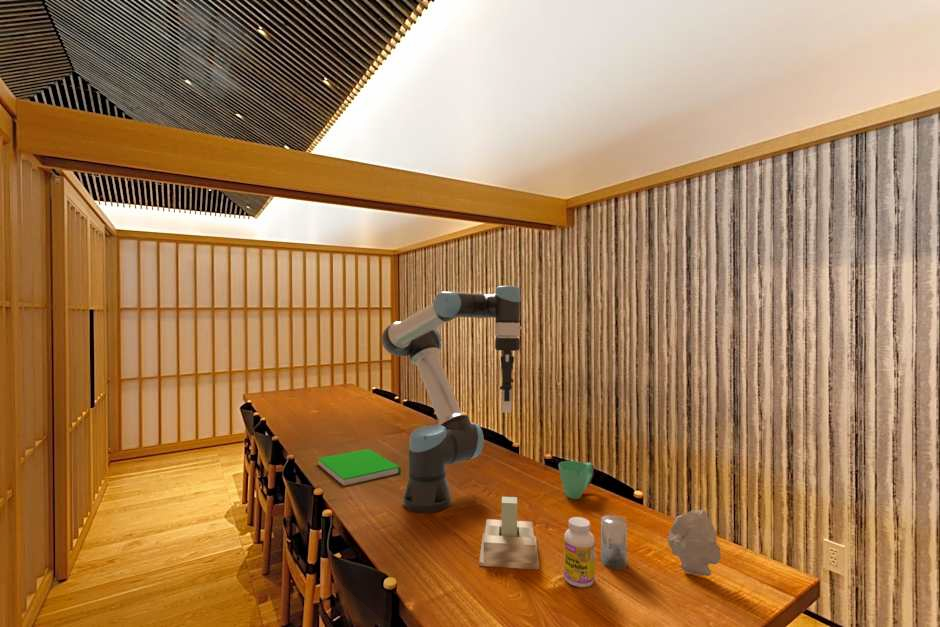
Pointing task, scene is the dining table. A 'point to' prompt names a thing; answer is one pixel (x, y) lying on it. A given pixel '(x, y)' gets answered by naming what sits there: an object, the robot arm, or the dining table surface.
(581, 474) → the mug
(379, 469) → the book
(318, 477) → the dining table surface
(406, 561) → the dining table surface
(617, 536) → the clear glass cylinder
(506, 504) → the square peg
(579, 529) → the supplement bottle
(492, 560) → the socket block
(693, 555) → the stone tool
